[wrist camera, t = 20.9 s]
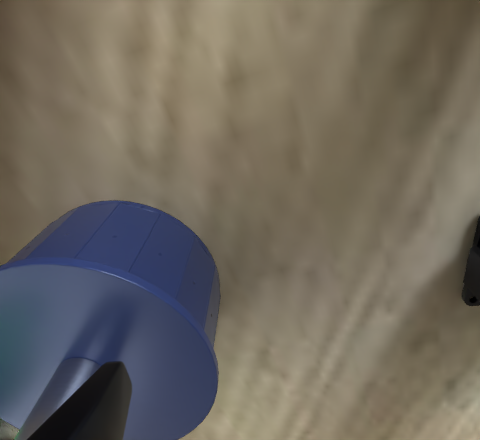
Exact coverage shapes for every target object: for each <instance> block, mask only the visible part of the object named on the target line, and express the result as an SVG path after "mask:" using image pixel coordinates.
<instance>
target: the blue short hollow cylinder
mask: <svg viewBox="0 0 480 440" xmlns="http://www.w3.org/2000/svg"><path fill="white" fill-rule="evenodd" d="M38 257H63V258H75V259H82V260H87V261H92V262H98V263H102V264H105V265H108V266H112V267H115V268H118V269H121V270H123V271H126V272H128V273H131V274H133V275H136V276H138V277H140V278H142V279H144V280H146V281H147V282H149V283H151V284H153V285H155V286H157V287H158V288H160V289H161V290H163V291H164V292H166V293H167V294H169V295H170V296H171V297H173V298H174V299H175V300H176V301H178V302H179V303H180V304H181V305H182V306H183V307H184V308H186V309H187V310H188V311H189V312H190V314H191V315H192V316H193V317H194V318H195V319H196V320H197V321H198V323H199V324H200V325H201V327H202V328H203V330H204V331H205V333H206V334H207V336H208V338H209V340H210V342H211V344H212V346H213V348H214V341H215V334H216V326H217V319H218V311H219V304H220V297H221V296H220V283H219V275H218V271H217V267H216V265H215V262H214V260H213V258H212V256H211V254H210V252H209V251H208V249H207V247H206V246H205V245H204V243H203V242H202V241H201V240H200V238H199V237H198V236H197V235H196V234H195V233H194V232H193V231H192V230H191V229H189V228H188V227H187V226H186V225H184V224H183V223H182V222H180V221H179V220H177V219H176V218H174V217H172V216H171V215H169V214H167V213H165V212H162V211H160V210H158V209H156V208H153V207H150V206H147V205H143V204H139V203H134V202H128V201H100V202H94V203H89V204H86V205H83V206H79V207H77V208H75V209H73V210H71V211H69V212H67V213H66V214H64V215H63V216H62V217H60V218H59V219H57V220H56V221H54V222H52V223H51V224H49V225H48V226H47V227H46V228H45V229H44V230H43V231H42V232H41V233H39V234H38V235H37V236H36V237H35V238H34V239H33V240H32V241H31V242H29V243H28V244H27V245H26V246H25V247H24V248H23V249H22V250H21V251H19V252H18V253H17V254H16V255H15V256H14V257H13V258H12V259H10V260H9V261H8V262H7V263H6V264H8V263H11V262H15V261H18V260H24V259H31V258H38Z"/></svg>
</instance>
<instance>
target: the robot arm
mask: <svg viewBox="0 0 480 440" xmlns="http://www.w3.org/2000/svg"><path fill="white" fill-rule="evenodd" d="M463 283H464V287H463V292H462V299H463V301H464V302H465V303H466V304H467V305H469V306H479V305H480V216H479V218H478V223H477V228H476V232H475V237H474V241H473V246H472V247H471V249H470V253H469V257H468V262H467V267H466V271H465V276H464V280H463ZM471 297H472V298H471ZM131 395H132V382H131V380H130V377H129V374H128V372H127V369H126V367H125V364H124V363H123V362H122V361H109V362H106V363H104V364H103V365H102V366H101V367H100V368H99V369H98V370H97V371H96V372H95V373H94V374H93V375H92V376H91V377H90V378H89V379H88V380H87V381H86V382H84V383H83V384H82V385H81V386H80V387H79V388H78V389H77V390H76V391H75V392H74V393H73V394H72V395H71V396H70V397H69V398H68V399H67V400H66V401H65V402H64V403H63V404H62V405H61V406H60V407H59V408H58V409H57V410H56V411H55V412H54V413H53V414H52V415H51V416H50V417H49V418H48V419H47V420H46V421H45V422H44V423H43V424H42V425H41V426H40V427H39V428H38V429H37V430H36V431H35V432H34V433H33V434H32V435H31V436H30V437H29V438H28V439H27V440H123V437H124V431H125V426H126V421H127V416H128V411H129V406H130V400H131Z"/></svg>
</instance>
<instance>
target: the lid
mask: <svg viewBox="0 0 480 440" xmlns="http://www.w3.org/2000/svg"><path fill="white" fill-rule="evenodd" d="M109 361H122V362H123V363H124V364H125V367H126V369H127V372H128V374H129V377H130V380H131V382H132V395H131V400H130V406H129V411H128V416H127V421H126V426H125V431H124V437H123V440H178V439H180V438H182V437H184V436H185V435H187V434H188V433H189V432H191V431H192V430H194V429H195V428H196V427H197V426H198V425H199V424H200V423H201V422H202V421H203V420H204V418H205V417H206V416H207V415H208V413H209V411H210V409H211V408H212V406H213V404H214V401H215V397H216V394H217V388H218V376H219V371H218V362H217V358H216V355H215V352H214V348H213V346H212V344H211V342H210V340H209V338H208V336H207V334H206V333H205V331H204V330H203V328H202V327H201V325H200V324H199V323H198V321H197V320H196V319H195V318H194V317H193V316H192V315H191V314H190V312H189V311H188V310H187V309H186V308H184V307H183V306H182V305H181V304H180V303H179V302H178V301H176V300H175V299H174V298H173V297H171V296H170V295H169V294H167V293H166V292H164V291H163V290H161V289H160V288H158V287H157V286H155V285H153V284H151V283H149V282H147V281H146V280H144V279H142V278H140V277H138V276H136V275H133V274H131V273H128V272H126V271H123V270H121V269H118V268H115V267H112V266H108V265H105V264H102V263H98V262H92V261H87V260H82V259H75V258H63V257H38V258H31V259H24V260H18V261H15V262H11V263H8V264H4V265H1V266H0V418H1V419H2V420H4V421H6V422H7V423H9V424H11V425H13V426H14V427H16V428H18V429H20V431H19V432H18V434H17V436H16V437H15V439H14V440H27V439H28V438H29V437H30V436H31V435H32V434H33V433H34V432H35V431H36V430H37V429H38V428H39V427H40V426H41V425H42V424H43V423H44V422H45V421H46V420H47V419H48V418H49V417H50V416H51V415H52V414H53V413H54V412H55V411H56V410H57V409H58V408H59V407H60V406H61V405H62V404H63V403H64V402H65V401H66V400H67V399H68V398H69V397H70V396H71V395H72V394H73V393H74V392H75V391H76V390H77V389H78V388H79V387H80V386H81V385H82V384H83V383H84V382H86V381H87V380H88V379H89V378H90V377H91V376H92V375H93V374H94V373H95V372H96V371H97V370H98V369H99V368H100V367H101V366H102V365H103V364H104V363H106V362H109Z"/></svg>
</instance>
